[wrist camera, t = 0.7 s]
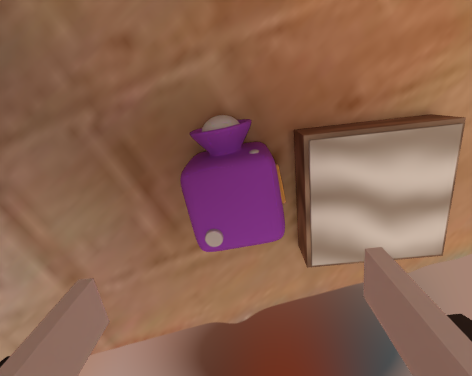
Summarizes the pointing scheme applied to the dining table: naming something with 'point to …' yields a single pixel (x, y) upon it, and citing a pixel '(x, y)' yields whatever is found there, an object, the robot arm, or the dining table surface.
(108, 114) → the dining table surface
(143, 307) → the dining table surface
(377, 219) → the stand
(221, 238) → the toy camera
